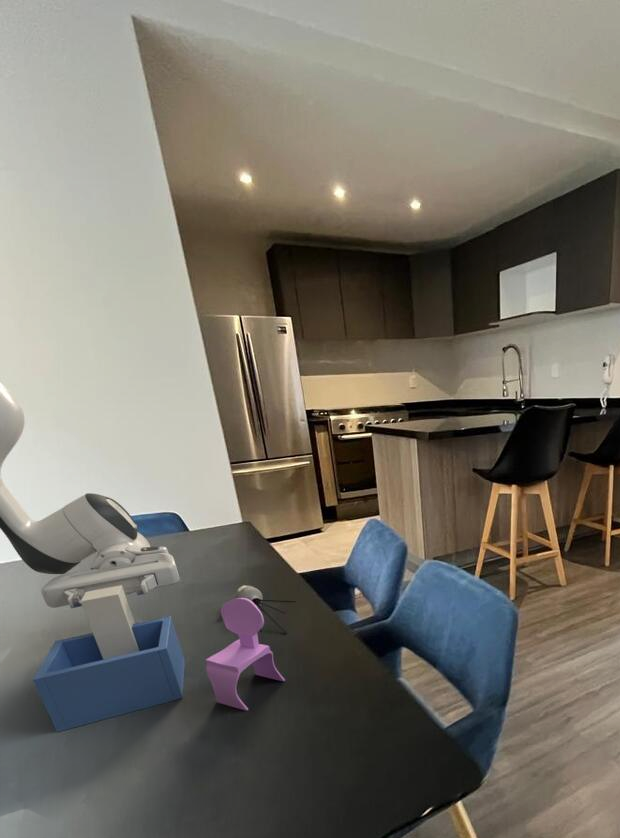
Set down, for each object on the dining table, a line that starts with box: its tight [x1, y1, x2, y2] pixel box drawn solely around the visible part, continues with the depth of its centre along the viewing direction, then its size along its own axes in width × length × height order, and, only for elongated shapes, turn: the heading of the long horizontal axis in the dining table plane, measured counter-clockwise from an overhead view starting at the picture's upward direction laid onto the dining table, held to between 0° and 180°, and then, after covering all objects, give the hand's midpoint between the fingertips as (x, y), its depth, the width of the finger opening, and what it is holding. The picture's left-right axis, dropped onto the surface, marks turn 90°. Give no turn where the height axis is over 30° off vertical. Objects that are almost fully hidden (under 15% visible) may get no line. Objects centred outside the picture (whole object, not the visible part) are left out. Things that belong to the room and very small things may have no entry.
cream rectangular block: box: [81, 585, 139, 660], centre depth 80 cm, size 5×4×12 cm
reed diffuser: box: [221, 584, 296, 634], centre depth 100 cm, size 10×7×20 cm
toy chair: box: [205, 598, 286, 712], centre depth 74 cm, size 8×9×15 cm
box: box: [32, 615, 186, 733], centre depth 77 cm, size 16×12×9 cm
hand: (108, 596), depth 81 cm, fingers open, 8 cm apart
